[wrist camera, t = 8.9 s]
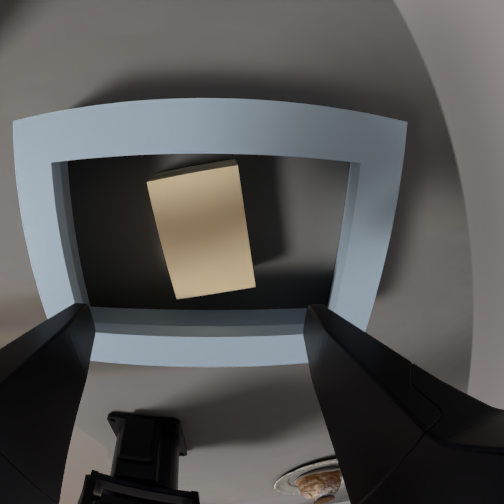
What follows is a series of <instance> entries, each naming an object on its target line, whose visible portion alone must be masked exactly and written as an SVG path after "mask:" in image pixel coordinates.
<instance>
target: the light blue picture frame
mask: <svg viewBox="0 0 504 504" xmlns="http://www.w3.org/2000/svg"><path fill="white" fill-rule="evenodd" d="M407 123H408V122H405V121H401V120H397V119H393V118H388V117H383V116H379V115H374V114H369V113H363V112H358V111H352V110H346V109H340V108H333V107H327V106H319V105H311V104H303V103H294V102H283V101H271V100H257V99H235V98H175V99H154V100H139V101H128V102H118V103H109V104H100V105H93V106H86V107H79V108H73V109H67V110H62V111H56V112H51V113H46V114H41V115H37V116H32V117H28V118H24V119H19V120H15V121H13V144H14V161H15V173H16V183H17V191H18V199H19V206H20V212H21V218H22V224H23V229H24V234H25V239H26V244H27V249H28V253H29V257H30V262H31V266H32V269H33V273H34V277H35V281H36V284H37V288H38V291H39V295H40V298H41V301H42V304H43V307H44V310H45V313H46V316H47V319H49V318H51V317H52V316H54V315H56V314H57V313H59V312H61V311H62V310H64V309H66V308H67V307H69V306H71V305H72V304H74V303H86V304H88V305H89V307H90V303H89V299H88V295H87V291H86V286H85V282H84V277H83V273H82V268H81V263H80V257H79V252H78V246H77V240H76V234H75V227H74V220H73V213H72V205H71V196H70V186H69V174H68V161H70V160H80V159H90V158H102V157H115V156H132V155H153V154H251V155H273V156H290V157H304V158H316V159H327V160H337V161H347V162H350V170H349V178H348V186H347V194H346V201H345V208H344V215H343V222H342V228H341V235H340V241H339V247H338V253H337V258H336V264H335V269H334V275H333V280H332V285H331V290H330V295H329V300H328V305H327V308H329V309H330V310H332V311H333V312H335V313H336V314H338V315H339V316H341V317H342V318H344V319H346V320H347V321H349V322H350V323H352V324H353V325H355V326H356V327H358V328H359V329H361V330H362V331H364V332H365V331H366V328H367V324H368V321H369V318H370V315H371V311H372V308H373V304H374V301H375V297H376V294H377V290H378V286H379V282H380V279H381V275H382V271H383V267H384V262H385V258H386V254H387V250H388V245H389V241H390V236H391V231H392V226H393V221H394V216H395V211H396V205H397V200H398V194H399V188H400V181H401V174H402V167H403V160H404V152H405V143H406V134H407ZM90 310H91V314H92V317H93V321H94V325H95V330H96V333H95V339H94V343H93V348H92V353H91V358H90V361H99V362H109V363H120V364H133V365H150V366H173V367H247V366H270V365H287V364H300V363H309V362H308V357H307V352H306V347H305V342H304V337H303V327H304V322H305V316H306V311H307V308H295V309H261V310H164V309H131V308H108V307H90Z"/></svg>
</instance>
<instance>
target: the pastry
mask: <svg viewBox="0 0 504 504" xmlns="http://www.w3.org/2000/svg"><path fill="white" fill-rule="evenodd" d="M333 462H338V461H337V459H331V460H326V461H322V462H318V463H315V464H311V465H307V466H304V467H302V468H299V469H297V470H295V471H292V472H290V473H288V474H286V475H284V476H282V477H281V478H280V479H278V480H277V481H276V482H275V484H274V489H275V490H277V492H279V493H282V494H290V495H292V494H302V496H303V497H305V498H307V499H312V498H314V499H315V500H316V501H315V502H314V504H321V503H325V502H328V501H330V500H332V499H334V498H335V497H334V496H333V495H334V494H336V492H337V491H338V489H339V487H340V484H342V483H344V480H343V477H342V473H341V470H340V468H336V467H333V468H324V469H319V470H314V471H311V472H308V473H305V474H304V475H301V476H300V477H298V478H297V479H296V480H295V483H294V484H295V485H297V486H294V485H291V484H290V483H289V479H290V478H291V477H292V476H293V475H295V474H297V473H299V472H301V471H303V470H305V469H308V468H311V467H314V466H318V465H322V464H327V463H333Z"/></svg>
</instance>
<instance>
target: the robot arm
mask: <svg viewBox="0 0 504 504" xmlns="http://www.w3.org/2000/svg"><path fill="white" fill-rule="evenodd" d="M95 333H96V330H95V325H94V321H93V317H92V314H91V310H90V307H89V305H88V304H86V303H74V304H72V305H71V306H69V307H67V308H66V309H64V310H62V311H61V312H59V313H57V314H56V315H54V316H52V317H51V318H49V319H47V320H46V321H44V322H43V323H41V324H39V325H38V326H36V327H34V328H33V329H31V330H30V331H28V332H26V333H25V334H23V335H22V336H20V337H18V338H17V339H15V340H14V341H12V342H11V343H9V344H7V345H6V346H4V347H3V348H1V349H0V504H59V500H60V493H61V487H62V481H63V475H64V469H65V464H66V459H67V454H68V449H69V445H70V440H71V436H72V432H73V427H74V423H75V419H76V415H77V412H78V408H79V404H80V400H81V397H82V393H83V390H84V386H85V382H86V379H87V374H88V369H89V364H90V358H91V353H92V348H93V343H94V339H95ZM303 337H304V342H305V347H306V352H307V357H308V362H309V368H310V373H311V378H312V382H313V385H314V389H315V392H316V395H317V398H318V401H319V404H320V407H321V410H322V413H323V416H324V420H325V423H326V426H327V429H328V432H329V435H330V438H331V442H332V445H333V448H334V451H335V454H336V457H337V461H338V464H339V467H340V470H341V473H342V477H343V480H344V483H345V486H346V490H347V493H348V496H349V499H350V502H351V504H504V410H502V409H497V408H494V407H491V406H489V405H487V404H485V403H483V402H481V401H479V400H477V399H475V398H473V397H471V396H469V395H467V394H466V393H464V392H462V391H460V390H458V389H456V388H454V387H452V386H450V385H448V384H447V383H445V382H443V381H441V380H439V379H438V378H436V377H434V376H433V375H431V374H429V373H428V372H426V371H425V370H423V369H421V368H420V367H418V366H417V365H415V364H412V362H410V361H409V360H407V359H406V358H404V357H403V356H401V355H400V354H398V353H396V352H395V351H393V350H392V349H390V348H389V347H387V346H386V345H384V344H383V343H381V342H379V341H378V340H376V339H375V338H373V337H372V336H370V335H369V334H367V333H366V332H364V331H362V330H361V329H359V328H358V327H356V326H355V325H353V324H352V323H350V322H349V321H347V320H346V319H344V318H342V317H341V316H339V315H338V314H336V313H335V312H333V311H332V310H330V309H329V308H327V307H326V306H324V305H309V306H308V308H307V311H306V316H305V322H304V327H303ZM107 419H108V421H109V423H110V425H111V427H112V429H113V431H114V433H115V435H116V437H117V441H116V446H115V451H114V457H113V462H112V468H111V474H110V476H109V475H105V474H102V473H99V472H98V471H95V470H92V472H91V475H86V476H85V481H84V486H83V490H82V493H81V496H80V499H79V501H78V504H200V501H199V494H198V492H197V491H191V492H189V491H181V490H178V467H179V456H186V455H187V449H186V445H185V440H184V436H183V432H182V428H181V423H180V421H179V420H177V419H171V418H155V417H142V416H131V415H122V414H114V413H109V414H108V417H107ZM100 495H101V496H100Z"/></svg>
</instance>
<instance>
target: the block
mask: <svg viewBox="0 0 504 504" xmlns="http://www.w3.org/2000/svg"><path fill="white" fill-rule="evenodd" d="M147 186H148V191H149V195H150V200H151V204H152V208H153V213H154V217H155V221H156V225H157V229H158V233H159V237H160V241H161V245H162V249H163V252H164V256H165V260H166V264H167V267H168V271H169V274H170V278H171V281H172V285H173V288H174V292H175V295H176V298H177V299H183V298H190V297H197V296H203V295H210V294H216V293H222V292H228V291H235V290H241V289H247V288H253V287H256V286H255V279H254V272H253V265H252V259H251V252H250V245H249V238H248V231H247V225H246V218H245V211H244V204H243V197H242V190H241V184H240V177H239V170H238V164H237V162H236V160H235V159H232V160H225V161H219V162H213V163H207V164H202V165H196V166H191V167H185V168H180V169H175V170H170V171H165V172H160V173H156V174H155V175H154V176H153V177H152V178H150V179H149V180H148V181H147Z"/></svg>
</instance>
